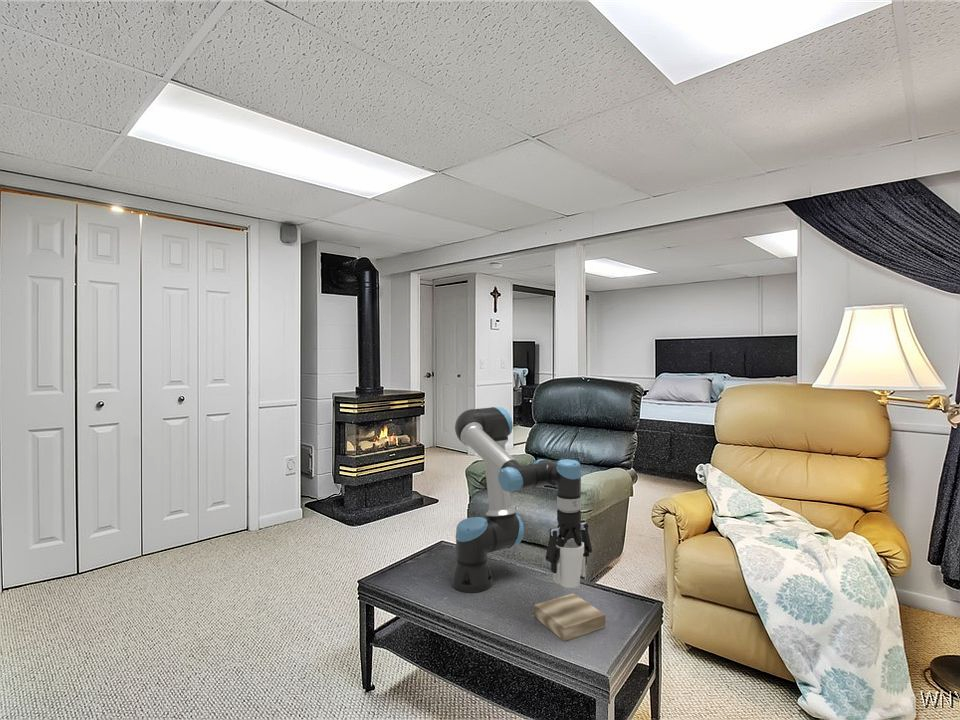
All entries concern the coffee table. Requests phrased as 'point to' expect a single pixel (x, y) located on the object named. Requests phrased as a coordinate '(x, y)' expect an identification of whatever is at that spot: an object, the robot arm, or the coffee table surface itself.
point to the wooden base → (569, 616)
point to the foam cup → (570, 563)
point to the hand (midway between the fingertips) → (569, 578)
